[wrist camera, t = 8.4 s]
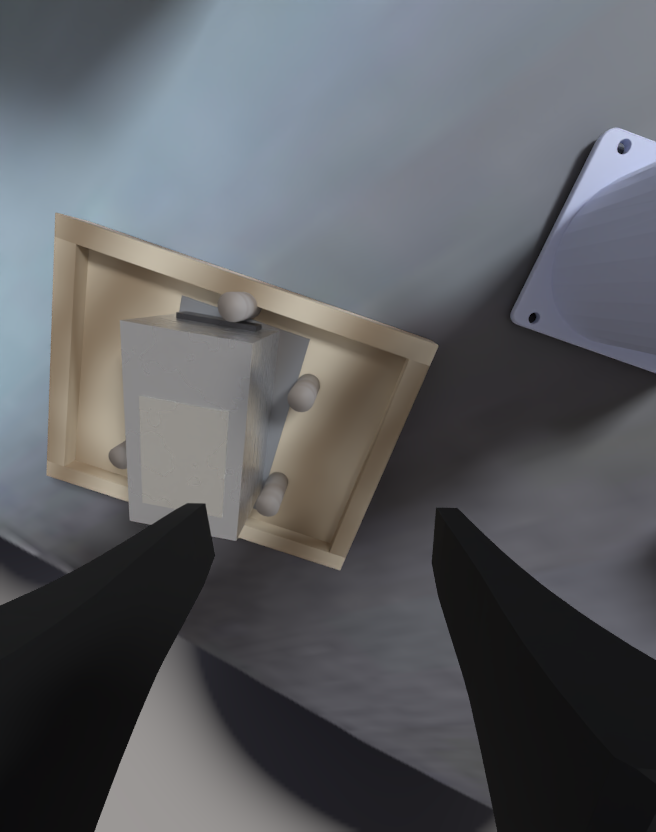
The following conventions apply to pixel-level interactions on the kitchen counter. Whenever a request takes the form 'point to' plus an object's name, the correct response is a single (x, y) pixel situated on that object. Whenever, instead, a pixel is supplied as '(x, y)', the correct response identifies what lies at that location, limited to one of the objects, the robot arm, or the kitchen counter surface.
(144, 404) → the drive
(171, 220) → the kitchen counter surface
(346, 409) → the tray
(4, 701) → the robot arm
